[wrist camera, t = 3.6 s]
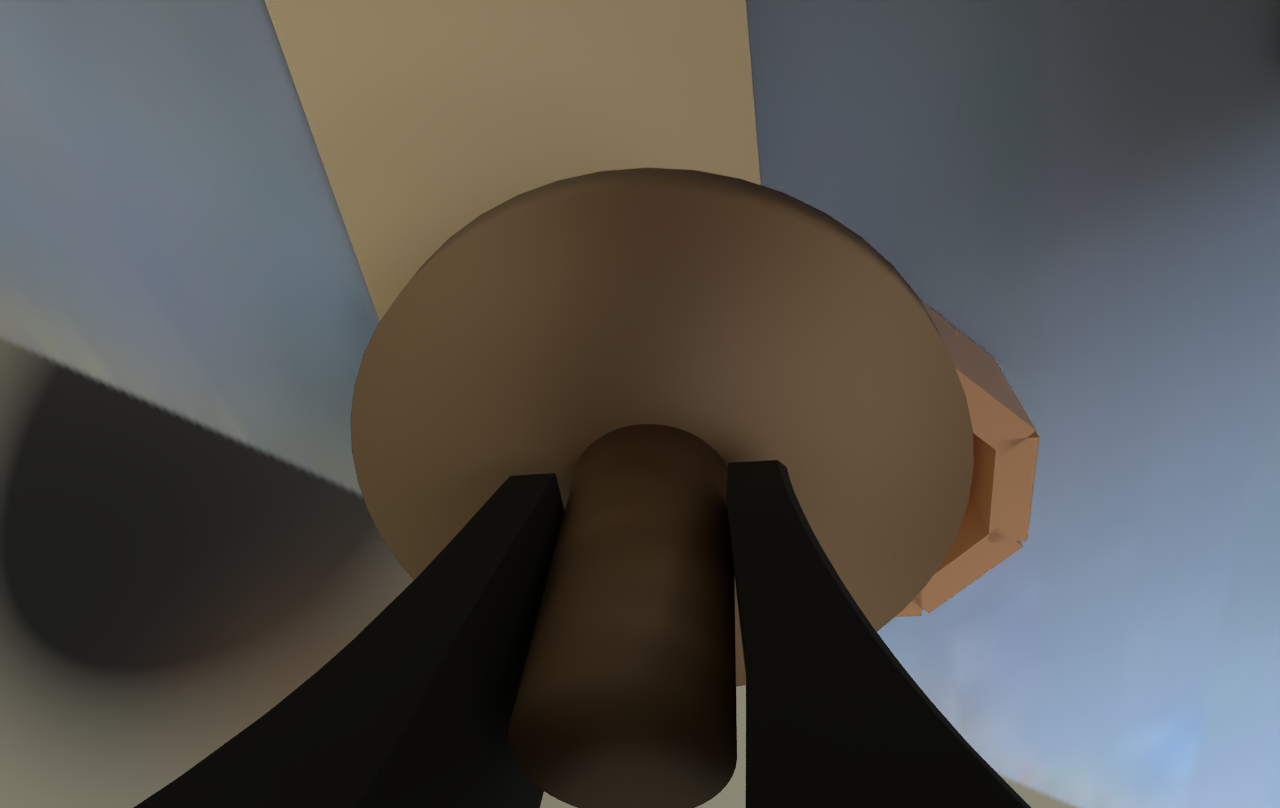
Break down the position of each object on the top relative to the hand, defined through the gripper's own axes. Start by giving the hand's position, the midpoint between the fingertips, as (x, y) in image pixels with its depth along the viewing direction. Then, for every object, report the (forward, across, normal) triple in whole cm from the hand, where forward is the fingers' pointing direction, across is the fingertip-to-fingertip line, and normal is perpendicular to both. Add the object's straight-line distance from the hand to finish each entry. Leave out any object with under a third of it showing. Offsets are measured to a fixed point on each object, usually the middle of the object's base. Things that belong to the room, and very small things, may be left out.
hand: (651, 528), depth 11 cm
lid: (+2, 0, 0) cm, 2 cm away
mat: (+9, +3, -3) cm, 10 cm away
